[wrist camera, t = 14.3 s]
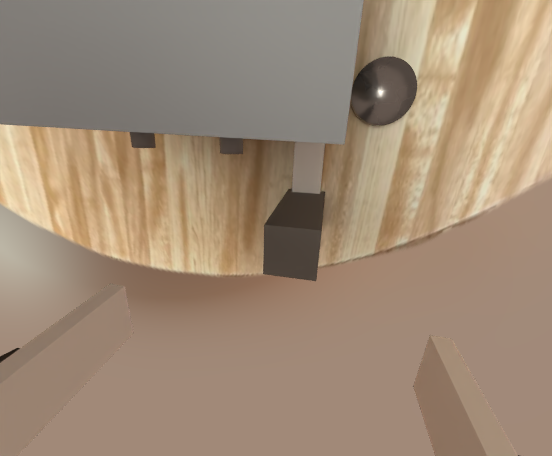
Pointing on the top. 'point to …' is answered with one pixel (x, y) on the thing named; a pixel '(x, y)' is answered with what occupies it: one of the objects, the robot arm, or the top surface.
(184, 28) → the cabinet
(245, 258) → the top surface
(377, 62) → the steel puck
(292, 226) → the scraper
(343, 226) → the top surface
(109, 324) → the robot arm
